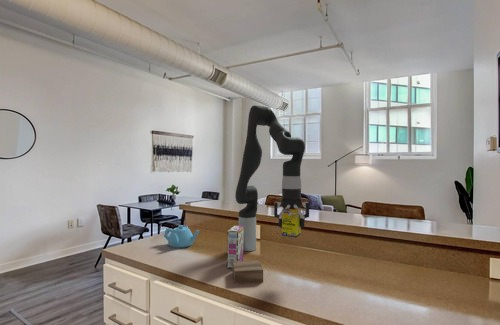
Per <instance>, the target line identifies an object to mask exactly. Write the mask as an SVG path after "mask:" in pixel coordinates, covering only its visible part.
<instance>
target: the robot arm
mask: <svg viewBox="0 0 500 325" xmlns="http://www.w3.org/2000/svg"><path fill="white" fill-rule="evenodd" d="M258 126H262V127H263V126H264V127H265V126H267V127H268V132H269V135H270V137H271V138H272V139H273V141H274V142H275V143H276V146H277V149H278V152H279V153H280V154H282V155H284V156H292V157H291V159H290V160H287V161H284V162H283V163H282V179H281V201H280V202H279V201H274V203H273V206H274V207H273V208H274V209H273V215H274V216H273V217H274V218H277V219H278V227H280V229H282V213H284V211H283V212H282V210H281V211H280V213H279V214H278V208H280V207H282V209H283V208H284V209H298V214H299V215H300V216H301V218H300V227H301V229H304V227H305V219H306V218H307V219H308V218H310V203H309V202H308V201H304V202H303V201H302V178H301V166H302V161H303V157H304V154H305V150H306V144H305V141H304V140H303V138H301V137H292V134H291V132H290V131H289V130H288V129H287V128H286V127H285V126H284V125H283V124H282V123H281V122H280V120H279V119H278V117H277V115H276V113H274V111H273V109H272V108H271V107H268V106H264V105H263V106H262V105H256V104H255V105H251V107H250V109H249V113H248V119H247V130H246V139H245V145H244V150H243V153H242V154H243V156H242V162H241V168H240V173H239V177H238V182H237V186H236V189H235V194H234V195H235V201H236V203H237V204H239V205H245V207H244V208H242V209H240V210H239V211H238V226H244V229H243V252H253V251H255V250H257V212H258V202H259V193H258V189H257V187H256V186H254V185H248V183H249V181H250V179H251V178H252V176H254V174H255V172H256V171H257V170H258V168H259V167H260V165H261V163H262V162H261V161H262V156H263V149H262V146H261V144H260V142H259V139H258V136H257V129H258V128H257V127H258ZM302 206H303V208H304V210H305V212H304V213H305V214H304V213H302V210H301V211H300V210H299V209H300V208H301V207H302Z"/></svg>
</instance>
